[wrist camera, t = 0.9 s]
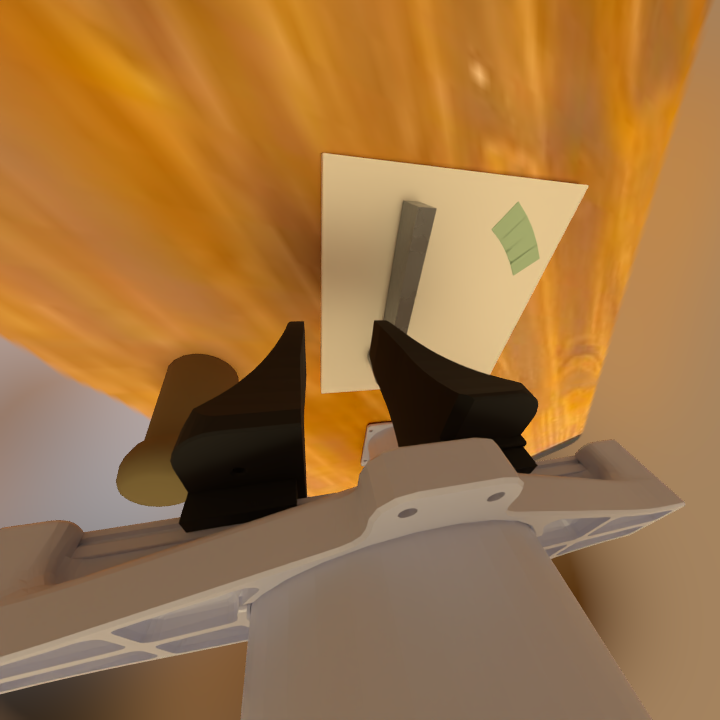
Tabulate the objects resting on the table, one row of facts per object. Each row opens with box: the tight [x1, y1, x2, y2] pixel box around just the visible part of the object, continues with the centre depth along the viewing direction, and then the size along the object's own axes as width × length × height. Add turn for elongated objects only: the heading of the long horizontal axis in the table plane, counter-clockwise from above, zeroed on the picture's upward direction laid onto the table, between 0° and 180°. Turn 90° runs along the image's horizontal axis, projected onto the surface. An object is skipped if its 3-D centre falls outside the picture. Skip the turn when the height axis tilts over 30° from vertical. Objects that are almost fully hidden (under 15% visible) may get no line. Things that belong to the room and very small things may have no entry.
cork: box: [116, 354, 238, 507], centre depth 20 cm, size 6×6×11 cm
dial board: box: [321, 153, 589, 393], centre depth 24 cm, size 20×20×1 cm
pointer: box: [367, 200, 437, 384], centre depth 21 cm, size 15×3×3 cm, turn 174°
